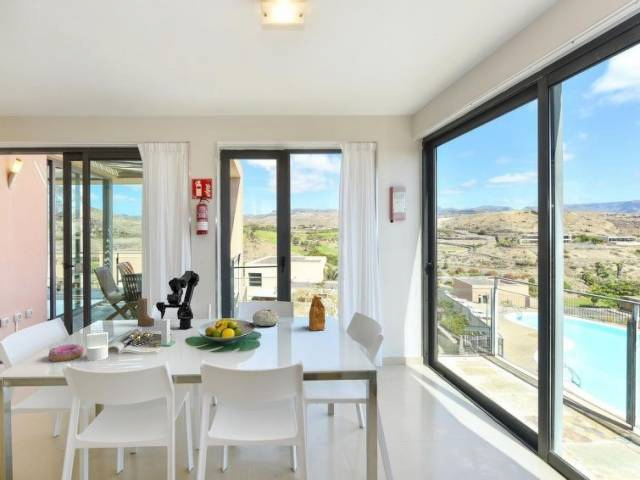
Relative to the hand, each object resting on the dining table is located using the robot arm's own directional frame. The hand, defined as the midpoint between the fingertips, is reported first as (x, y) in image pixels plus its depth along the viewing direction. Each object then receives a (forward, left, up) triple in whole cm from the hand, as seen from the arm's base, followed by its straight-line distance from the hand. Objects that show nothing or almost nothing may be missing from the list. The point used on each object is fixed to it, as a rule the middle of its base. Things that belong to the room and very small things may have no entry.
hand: (169, 318), depth 206 cm
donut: (+43, -23, -13) cm, 50 cm away
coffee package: (-64, +62, -13) cm, 90 cm away
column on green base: (+6, +3, -13) cm, 14 cm away
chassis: (+9, -14, -13) cm, 21 cm away
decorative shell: (-56, +27, -13) cm, 64 cm away
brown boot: (-16, -42, -13) cm, 47 cm away
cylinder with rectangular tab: (+36, -9, -13) cm, 39 cm away
